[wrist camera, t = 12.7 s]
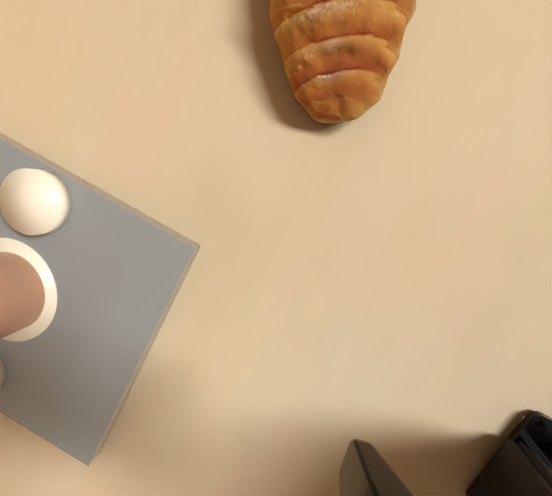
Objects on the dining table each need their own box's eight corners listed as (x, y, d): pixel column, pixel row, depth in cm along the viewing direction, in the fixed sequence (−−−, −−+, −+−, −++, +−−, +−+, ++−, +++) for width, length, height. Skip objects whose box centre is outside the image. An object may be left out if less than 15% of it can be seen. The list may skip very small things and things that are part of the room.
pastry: (404, 124, 18) (421, 107, 14) (272, 128, 19) (257, 113, 16) (415, -86, 17) (438, -165, 13) (271, -70, 18) (255, -139, 14)
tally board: (200, 245, 21) (186, 251, 19) (98, 454, 24) (77, 478, 22) (-5, 130, 21) (-38, 124, 19) (-76, 348, 25) (-111, 362, 23)
